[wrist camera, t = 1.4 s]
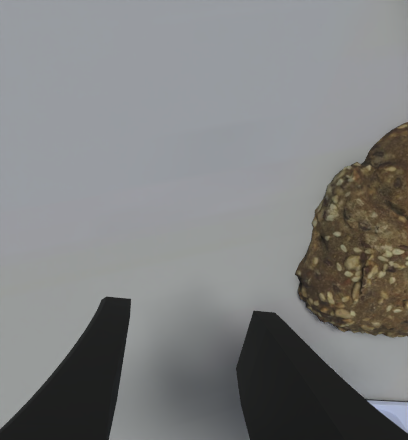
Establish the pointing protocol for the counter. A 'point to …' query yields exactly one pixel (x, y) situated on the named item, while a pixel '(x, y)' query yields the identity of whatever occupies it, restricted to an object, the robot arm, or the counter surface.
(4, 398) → the counter surface
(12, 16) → the counter surface
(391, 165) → the bread roll
